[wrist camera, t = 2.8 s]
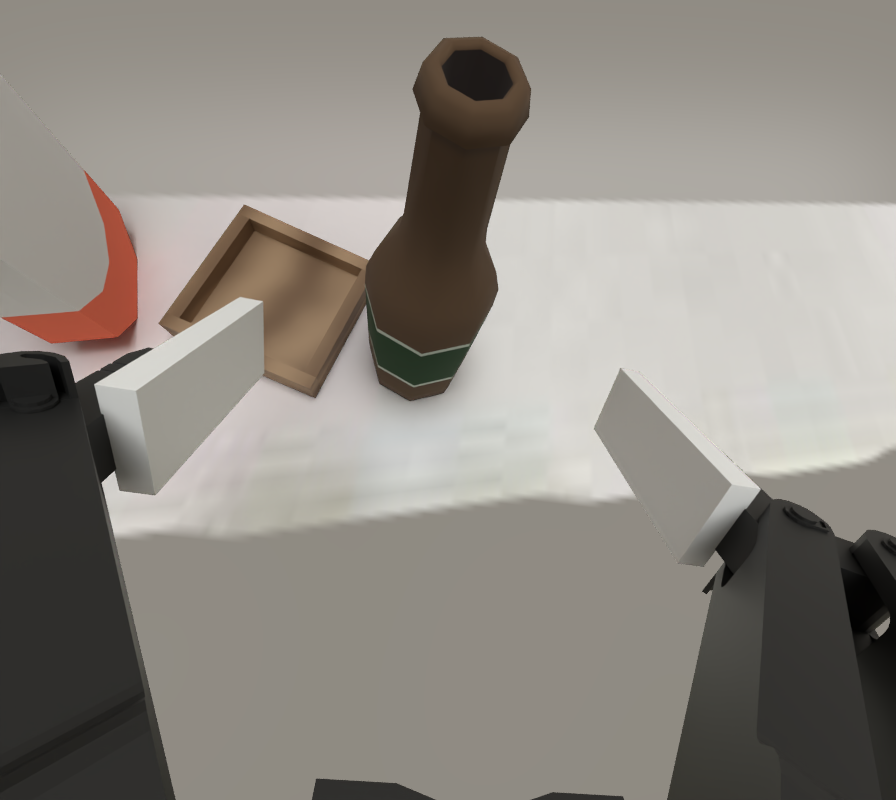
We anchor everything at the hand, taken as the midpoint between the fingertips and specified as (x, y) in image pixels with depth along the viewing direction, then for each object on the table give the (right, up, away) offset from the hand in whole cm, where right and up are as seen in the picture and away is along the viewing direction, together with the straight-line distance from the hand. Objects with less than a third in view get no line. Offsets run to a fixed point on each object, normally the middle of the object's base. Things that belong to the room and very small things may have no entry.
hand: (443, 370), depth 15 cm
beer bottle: (-3, +2, +20) cm, 20 cm away
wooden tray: (-14, +7, +19) cm, 25 cm away
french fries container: (-27, +8, +18) cm, 33 cm away
